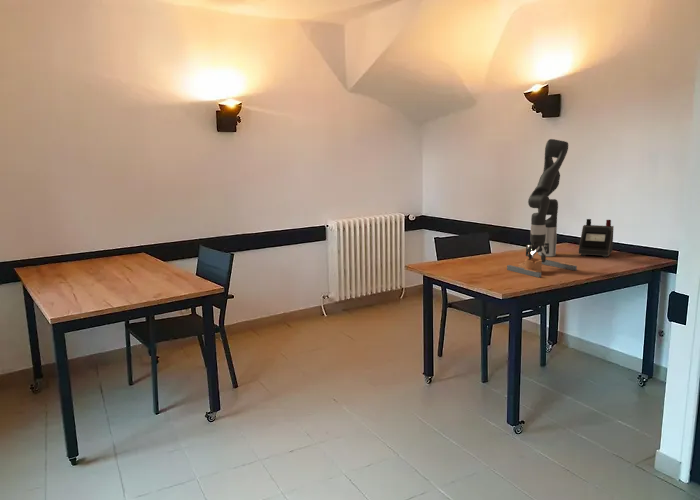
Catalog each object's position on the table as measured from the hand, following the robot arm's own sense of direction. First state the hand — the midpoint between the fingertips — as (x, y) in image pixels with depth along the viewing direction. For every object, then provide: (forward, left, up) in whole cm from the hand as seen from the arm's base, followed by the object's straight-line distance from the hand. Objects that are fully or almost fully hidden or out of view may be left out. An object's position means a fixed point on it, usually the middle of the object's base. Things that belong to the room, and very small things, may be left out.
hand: (537, 263), depth 292 cm
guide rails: (+3, 0, -3) cm, 4 cm away
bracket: (0, -6, -4) cm, 7 cm away
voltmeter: (-8, +56, -4) cm, 57 cm away
